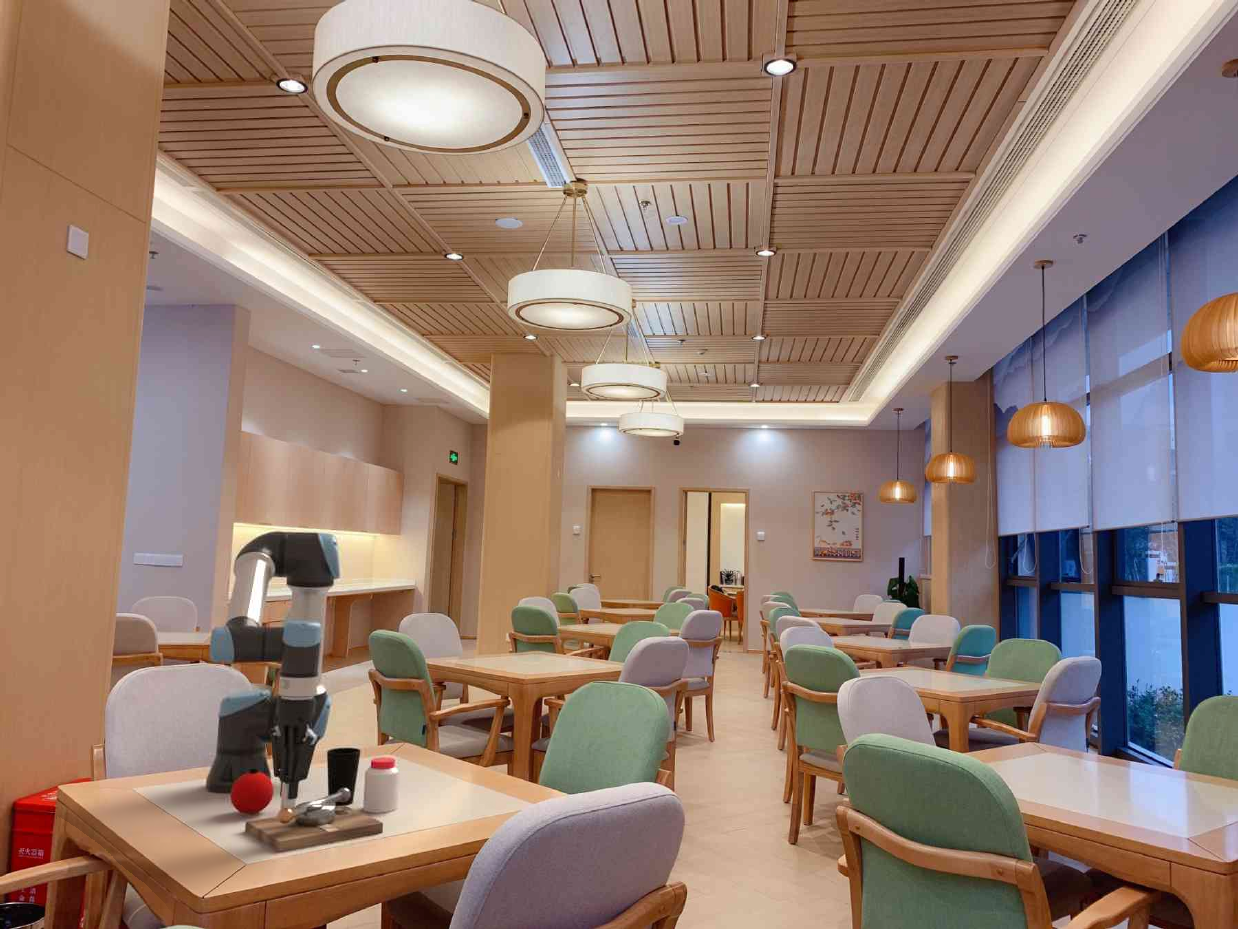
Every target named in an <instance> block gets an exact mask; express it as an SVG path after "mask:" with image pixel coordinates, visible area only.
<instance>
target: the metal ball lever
mask: <svg viewBox="0 0 1238 929" xmlns="http://www.w3.org/2000/svg"><path fill="white" fill-rule="evenodd" d="M350 796H351V792H350V790H349V789H348V788H341V789H339V790H338V792H337V793H335V794H332V795H329V796H328V795H327V796H324V797H321V798H317V799H315V800H313V801H307V802H300V803H298V804H297V805H295V808H292V809H290V808H283V809H281V810H280V809H279V811H278V813H277V818H278V821H279V822H280V823H283V824H286V823H289V822H290V821H291V820H292V818H294V817H295V823H296V824H298V825H304V826H317V825H324V824H329V823H331V822H333V821H334V820H335V808H336V807H337V806H336V804H335V802H338V801H340V802H346V801H347V800H349V798H350Z"/></svg>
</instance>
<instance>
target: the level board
mask: <svg viewBox="0 0 1238 929" xmlns="http://www.w3.org/2000/svg"><path fill="white" fill-rule="evenodd" d="M277 816H278V815H277ZM277 816H270V817H264V818H258V819H252V820H247V821H245V825H244V827H245V830H244V832H246V833H248V834H249V835H250V836H252V837H254V838H255V839H257V840H259V841H260V842H262V843H264V844H265V845H267V846H268V847H270V848H272V849H273V850H275V851H276V852H278V853H283V852H287V851H291V850H297V849H298V850H299V849H303V848H308V847H314V846H320V845H323V844H330V843H335V842H340V841H345V840H351V839H355V838H361V837H367V836H371V835H372V836H373V835H377V834H382V833H383V831H384V822H382V821H380V820H378V819H377V818H374V817H371V816H370V815H366V814H364V813H362V812H360V811H358V810H356V809H353V808H351V807H349V806H348V805H343V806H336V808H335V820H334V821H333V822H331V823H329V824H324V825H317V826H304V825H298V824H296V823H295V817H294V818H292V820H291V821H290V822H289V823H286V824H283V823H280V822H279V821H278V818H277Z"/></svg>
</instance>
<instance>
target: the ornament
mask: <svg viewBox="0 0 1238 929" xmlns="http://www.w3.org/2000/svg"><path fill="white" fill-rule="evenodd" d="M274 791H275V790H274V785H273V782H272V779H271V780H270V779H269V777H268V776H266V775H265V774H263V773H260V772H258V768H257V767H253V768H250V773H246V774H244V775H242V776H241V777H240V778H238V780H237V781H236V782H235V783H234V785H233V787H232V789H231V793H230V802H231V804H232V806H233V808H235V811H236V810H237V811H238V812H239V813H241V814H243V815H255V814H258V813H260V812H262V811H264V810H265V809H266V808H267V807H268V806H269V804H270V803H271V801H272V800H273V797H274V796H273V795H274Z"/></svg>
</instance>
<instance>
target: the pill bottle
mask: <svg viewBox="0 0 1238 929" xmlns="http://www.w3.org/2000/svg"><path fill="white" fill-rule="evenodd" d="M399 783H400V769H398V767H397V766H396V759H395V758H394V757H385V756H384V757H383V756H382V757H376V758H375V757H374V758H372V759H371V760H370V767H368V768H367V769H366V770H365V771H364V786H363V787H364V788H363V789H364V790H363V807H362V810H363V812H367V813H373V814H381V813H382V814H385V813H390V812H394V811H395V810H397V809H398V801H399V786H400V784H399Z"/></svg>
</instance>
